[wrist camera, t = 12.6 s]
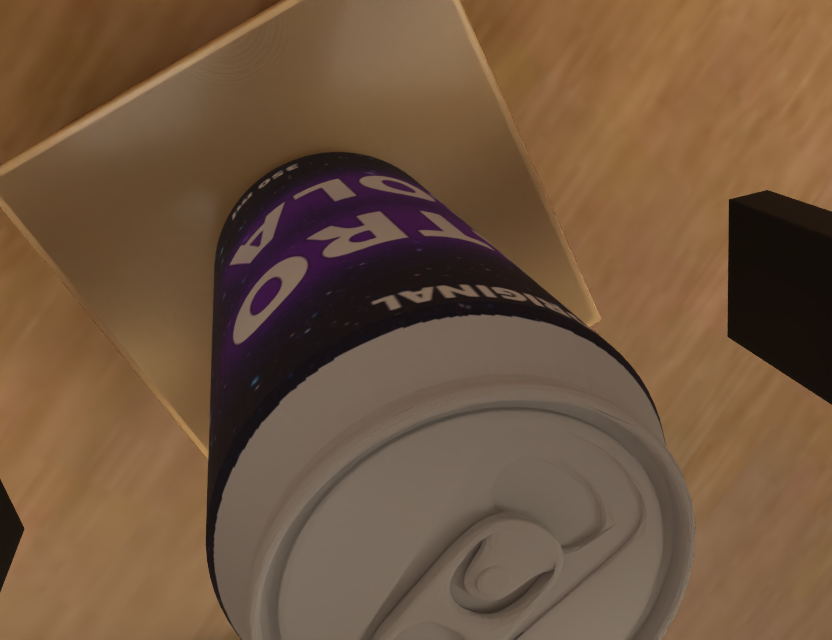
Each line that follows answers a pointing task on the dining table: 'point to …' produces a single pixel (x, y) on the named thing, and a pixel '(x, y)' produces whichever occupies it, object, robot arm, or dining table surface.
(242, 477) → the beverage can
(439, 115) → the wooden block
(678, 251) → the dining table surface
